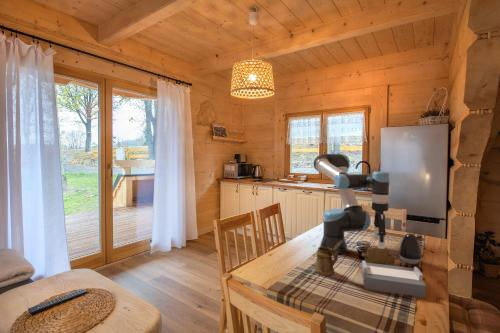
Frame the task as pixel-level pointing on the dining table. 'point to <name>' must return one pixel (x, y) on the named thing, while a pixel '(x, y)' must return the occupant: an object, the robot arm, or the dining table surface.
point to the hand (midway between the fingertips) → (379, 243)
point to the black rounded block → (410, 249)
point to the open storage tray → (393, 279)
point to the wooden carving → (379, 256)
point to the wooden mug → (326, 260)
